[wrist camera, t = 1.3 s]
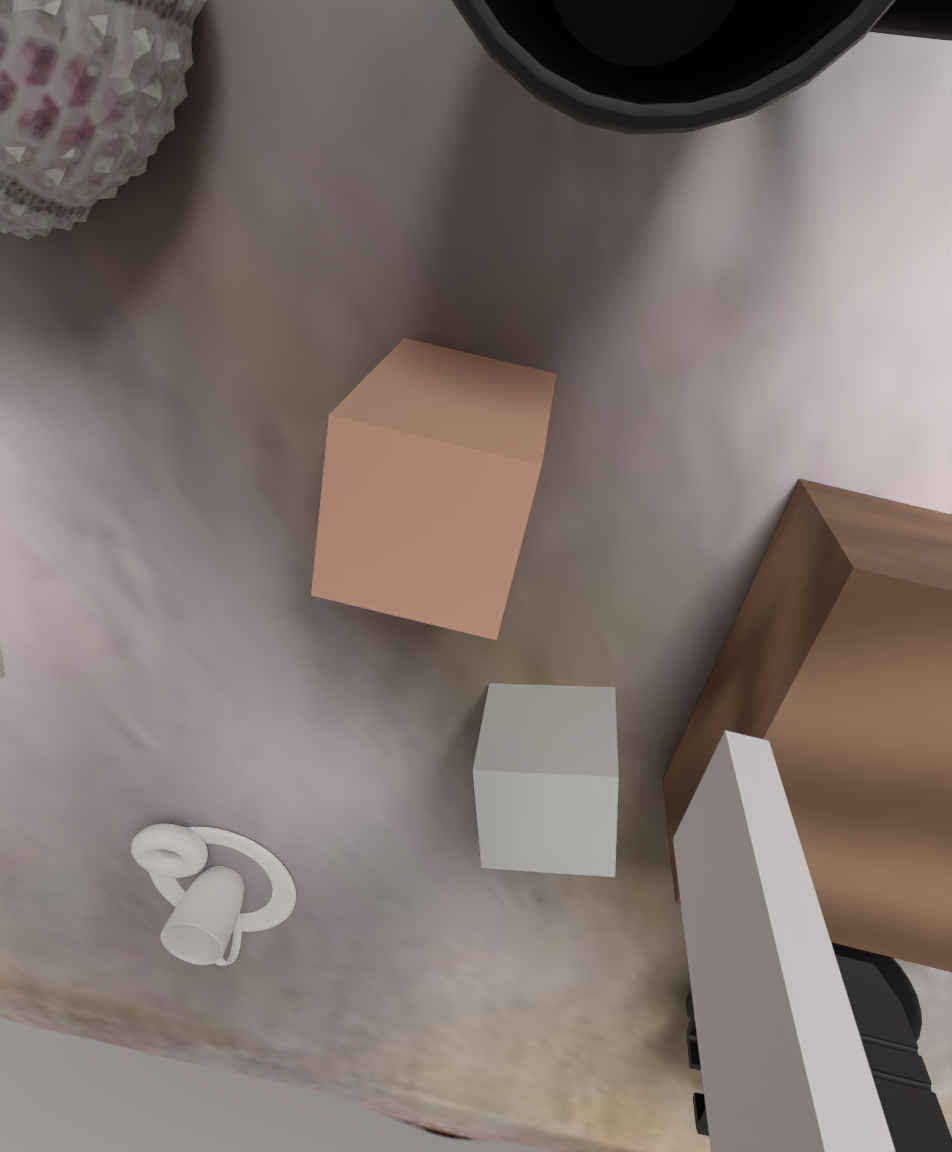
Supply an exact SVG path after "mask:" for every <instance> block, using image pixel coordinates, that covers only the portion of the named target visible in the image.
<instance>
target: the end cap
mask: <svg viewBox="0 0 952 1152" xmlns="http://www.w3.org/2000/svg"><path fill="white" fill-rule="evenodd" d="M831 944H832V947H833V950H834V953H835V955H839V956H843V957H847V958H851V959H855V960H859V961H863V962H867V963H871V964H874V965H875V966H876V968H877V969H878V971H879V972H880V973H881V975H882V976H883V978H884V979H885V980H886V982H887V983H888V985H889V986H890V988H891V989H892V990H893V992H894V993H895V995H896V996H897V998H898V999H899V1000H900V1002H901V1003H902V1005H903V1007H904V1010H905V1013H906V1016H907V1018H908V1021H909V1024H910V1026H911V1029H912V1032H913V1035H914V1037H915V1040H916V1042H917V1040H918V1039H919V1036H920V1031H921V1026H922V1018H921V1008H920V1005H919V1001H918V998H917V994H916V992H915V990H914V988H913V986H912V984H911V982H910V980H909V979H908V977H907V976H906V974H905V973H904V971H903V970H902V968H901V967H900V966H899V965H898V963H897V962H896V961H895V960H894V959H893V958H892V957H889V956H885V955H881V954H877V953H873V952H869V951H865V950H861V949H857V948H853V947H849V946H845V945H841V944H837V943H833V942H831ZM686 1007H687V1016H688V1017H689V1018H691V1020H690V1022H689V1025H688V1030H687V1046H688V1055H689V1065H690V1068H692V1069H697V1070H701V1065H700V1056H699V1048H698V1040H697V1032H696V1024H695V1016H694V1007H693V999H692V991H690V994H689V996H688V999H687V1001H686ZM693 1103H694V1113H695V1123H696V1129H697V1132H698V1134H702V1135H707V1136H709V1130H708V1122H707V1114H706V1105H705V1097H704V1094H700V1093H694V1095H693Z"/></svg>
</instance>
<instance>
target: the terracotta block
mask: <svg viewBox="0 0 952 1152" xmlns="http://www.w3.org/2000/svg"><path fill="white" fill-rule="evenodd" d="M556 375H557V374H556V373H552V372H548V371H543V370H539V369H535V368H531V367H526V366H522V365H518V364H514V363H509V362H505V361H501V360H497V359H492V358H488V357H484V356H480V355H475V354H471V353H467V352H463V351H459V350H454V349H450V348H446V347H442V346H437V345H433V344H429V343H425V342H420V341H416V340H412V339H408V338H404V339H403V340H402V341H401V342H400V343H399V344H398V345H397V346H396V347H395V348H394V349H393V350H392V351H391V352H390V353H389V354H388V355H387V356H386V357H385V358H384V359H383V360H382V361H381V362H380V363H379V364H378V365H377V366H376V367H375V368H374V369H373V370H372V371H371V372H370V373H369V374H368V375H367V376H366V377H365V378H364V379H363V380H362V381H361V382H360V383H359V384H358V385H357V386H356V388H355V389H354V390H353V391H352V392H351V393H350V394H349V395H348V396H347V397H346V398H345V399H344V400H343V401H342V402H341V403H340V404H339V405H338V406H337V407H336V408H335V409H334V410H333V411H332V412H331V413H330V414H329V418H328V428H327V439H326V449H325V459H324V469H323V479H322V489H321V499H320V510H319V520H318V530H317V540H316V550H315V560H314V570H313V581H312V591H311V596H316V597H320V598H324V599H328V600H332V601H336V602H340V603H344V604H349V605H353V606H357V607H361V608H365V609H369V610H373V611H377V612H382V613H386V614H390V615H394V616H398V617H402V618H406V619H411V620H415V621H419V622H423V623H427V624H431V625H435V626H439V627H444V628H448V629H452V630H456V631H460V632H464V633H468V634H472V635H477V636H481V637H485V638H489V639H493V640H497V637H498V633H499V629H500V625H501V621H502V617H503V613H504V610H505V606H506V602H507V598H508V594H509V590H510V587H511V583H512V579H513V575H514V571H515V567H516V563H517V560H518V556H519V552H520V548H521V544H522V540H523V536H524V533H525V529H526V525H527V521H528V517H529V513H530V510H531V506H532V502H533V498H534V494H535V490H536V486H537V483H538V479H539V475H540V471H541V467H542V462H543V456H544V450H545V443H546V437H547V431H548V425H549V419H550V412H551V406H552V400H553V394H554V388H555V381H556Z"/></svg>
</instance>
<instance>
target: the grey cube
mask: <svg viewBox="0 0 952 1152" xmlns="http://www.w3.org/2000/svg"><path fill="white" fill-rule="evenodd" d="M473 780H474V791H475V802H476V813H477V824H478V835H479V846H480V857H481V868H486V869H501V870H516V871H530V872H545V873H560V874H575V875H590V876H605V877H615V866H616V838H617V810H618V782H619V773H618V748H617V722H616V697H615V687H590V686H558V685H525V684H493V683H489V688H488V693H487V698H486V703H485V709H484V714H483V719H482V724H481V729H480V734H479V740H478V745H477V750H476V755H475V760H474V765H473Z"/></svg>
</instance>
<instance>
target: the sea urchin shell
mask: <svg viewBox="0 0 952 1152" xmlns="http://www.w3.org/2000/svg"><path fill="white" fill-rule="evenodd" d="M206 2H207V1H206V0H0V231H1V232H2V233H4V234H6V233H8V232H11V233H13V234H14V235H17V236H19V237H21V238H24V239H26V240H29V239H31V238H32V237H33V236H34V235H36V234H38V235H42V236H45V237H46V236H47V235H48V234H49V233H50V232H51V230H52V229H53V228H60V229H65V230H71V228H72V226H73V224H74V222H86V220H87V217H88V215H89V212H90V210H91V208H92V205H93V204H94V203H95V202H96V201H97V200H98V199H106V198H115V197H116V193H117V189H118V186H120V185H123V184H126V183H127V182H128V180H129V178H130V177H131V176H139V175H141V174H142V173H144V172H145V171H146V168H147V160H148V156H150V155H153V154H155V152H156V150H157V147H158V144H159V142H160V141H161V140H162V139H163V138H164V135H166V134H167V133H169V132H170V131H172V130H174V129H175V124H174V109H175V108H176V107H177V106H178V105H179V104H180V103H181V102H182V101H183V100H184V99H185V98H186V97H187V96H188V95H187V90H186V86H185V72H186V71H187V70H188V69H189V68H190V67H191V66H192V64H193V56H192V49H191V40H192V32H193V24H194V19H195V18H196V16H197V15H198V13H199V12H200V11H201V9H202V8H203V6H204V5H205V3H206Z"/></svg>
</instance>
